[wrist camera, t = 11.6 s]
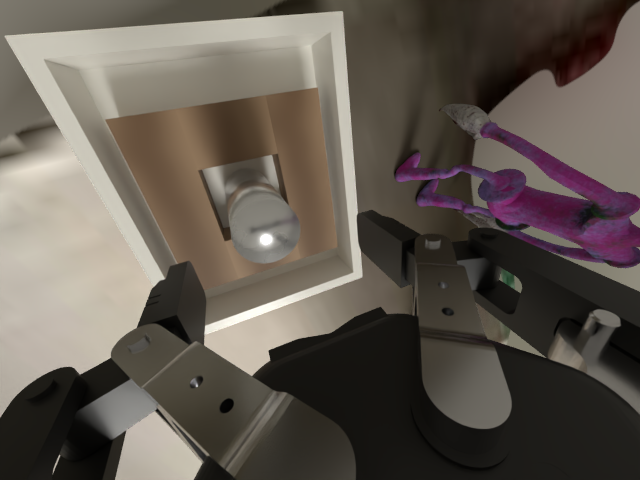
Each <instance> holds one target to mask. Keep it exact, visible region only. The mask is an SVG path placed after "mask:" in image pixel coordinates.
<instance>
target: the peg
mask: <svg viewBox="0 0 640 480" xmlns="http://www.w3.org/2000/svg"><path fill="white" fill-rule="evenodd" d="M225 196H226V203H227V210H228V217H229V224H230V232H231V239H232V243H233V245H234V247H235V249H236V250H237V252H238V253H239V254H240V255H241V256H242V257H244V258H245V259H247V260H249V261H252V262H255V263H272V262H275V261H278V260H280V259H282V258H284V257H285V256H287V255H288V254H289V253H290V252H291V251H292V250H293V249H294V248H295V246H296V244H297V242H298V240H299V237H300V223H299V219H298V217H297V215H296V214H295V212H294V211H293V210H292V209H291V207H290V206H289V205H288V204H287V203H286V201H285V200H284V199H283V198H282V197H281V195H280V194H279V193H278V192H277V191H276V189H275V188H274V187H273V186H272V185H271V183H270V182H269V181H268V180H267V179H266V177H265V176H264V175H263V174H262V173H260V172H259V171H257V170H254V169H250V168H244V169H239V170H237V171H235V172H233V173H232V174H231V175H230V176H229V177H228V179H227V181H226V184H225Z"/></svg>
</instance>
